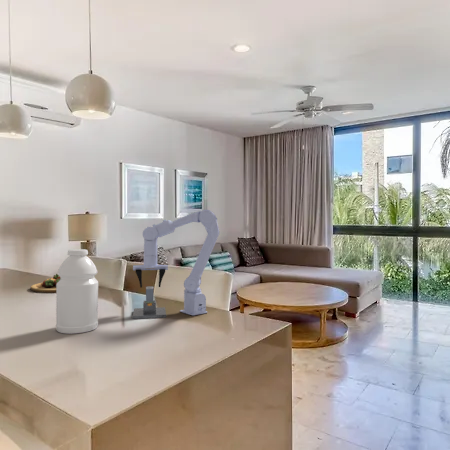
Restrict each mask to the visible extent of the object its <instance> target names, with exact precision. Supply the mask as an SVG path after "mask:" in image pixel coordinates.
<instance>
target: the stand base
mask: <svg viewBox="0 0 450 450" xmlns="http://www.w3.org/2000/svg"><path fill="white" fill-rule="evenodd" d="M153 300H154V299H153ZM142 305H143V307H140V308H139V307H138V308H135V307H134V308H133V312H132V320H138V319H139V320H141V319H165V318H167V311H166V307H157V300H156V299H155V300H154V303H146V300H143V304H142Z"/></svg>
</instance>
